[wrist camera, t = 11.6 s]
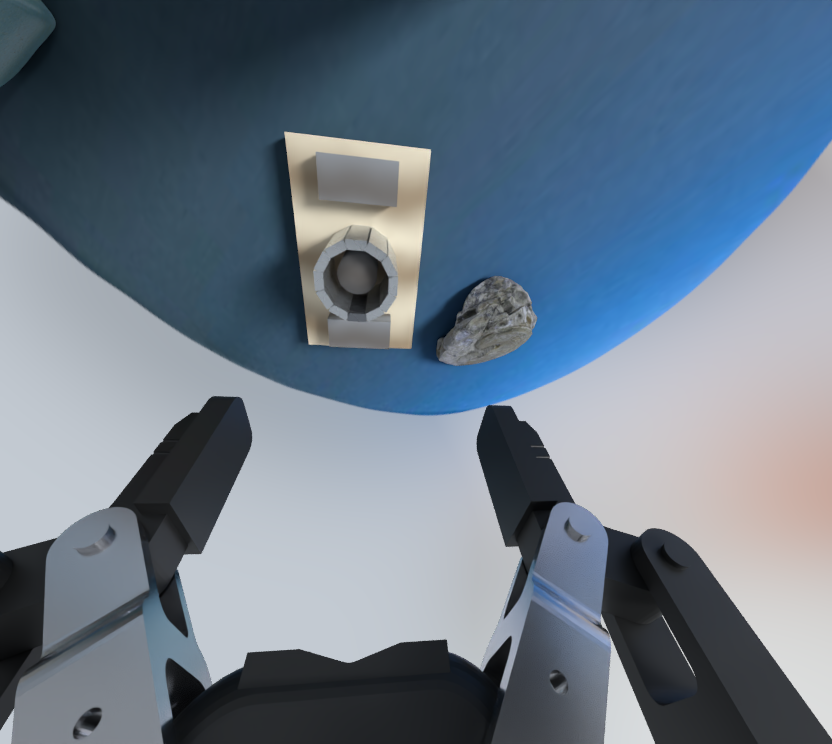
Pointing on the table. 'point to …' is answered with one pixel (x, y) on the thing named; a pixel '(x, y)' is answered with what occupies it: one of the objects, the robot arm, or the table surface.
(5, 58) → the flower pot
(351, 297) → the hub ring
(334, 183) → the shaft block
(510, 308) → the fossilized seashell
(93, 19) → the table surface
